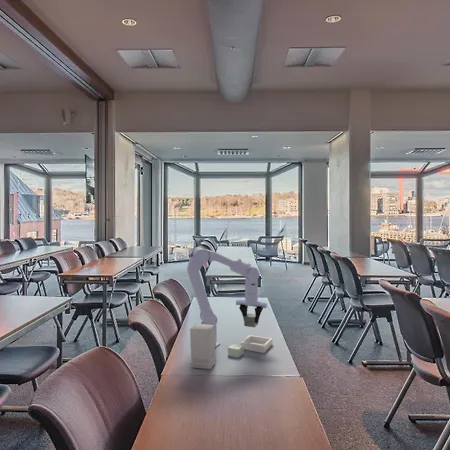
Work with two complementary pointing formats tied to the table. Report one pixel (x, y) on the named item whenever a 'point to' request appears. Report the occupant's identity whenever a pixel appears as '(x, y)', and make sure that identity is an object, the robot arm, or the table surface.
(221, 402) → the table surface
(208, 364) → the skincare box
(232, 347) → the pale green box
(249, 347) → the box
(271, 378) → the table surface
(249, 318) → the metal block
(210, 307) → the robot arm
